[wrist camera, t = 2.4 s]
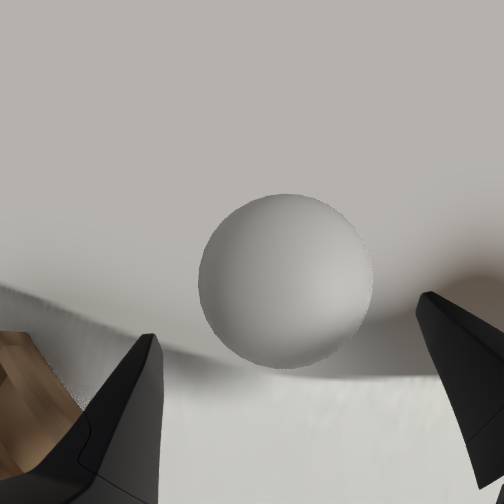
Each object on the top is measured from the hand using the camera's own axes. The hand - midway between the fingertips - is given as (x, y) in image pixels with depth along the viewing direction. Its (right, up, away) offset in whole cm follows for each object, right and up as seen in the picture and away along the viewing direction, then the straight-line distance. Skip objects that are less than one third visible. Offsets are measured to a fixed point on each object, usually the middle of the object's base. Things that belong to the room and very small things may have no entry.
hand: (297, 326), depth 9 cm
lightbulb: (0, -1, +9) cm, 9 cm away
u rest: (-18, -12, +6) cm, 22 cm away
